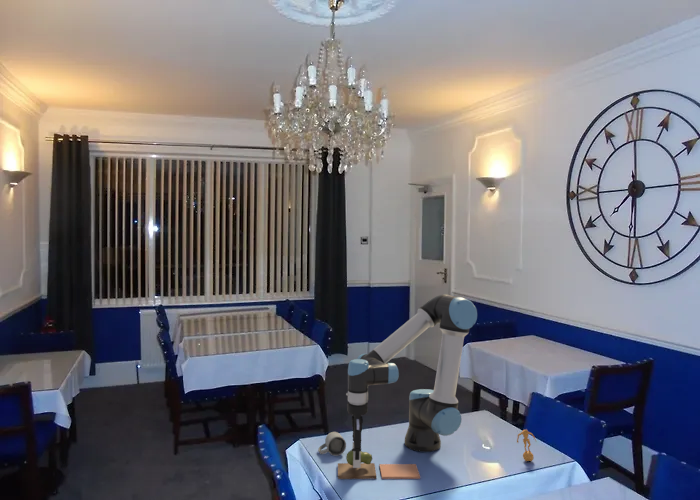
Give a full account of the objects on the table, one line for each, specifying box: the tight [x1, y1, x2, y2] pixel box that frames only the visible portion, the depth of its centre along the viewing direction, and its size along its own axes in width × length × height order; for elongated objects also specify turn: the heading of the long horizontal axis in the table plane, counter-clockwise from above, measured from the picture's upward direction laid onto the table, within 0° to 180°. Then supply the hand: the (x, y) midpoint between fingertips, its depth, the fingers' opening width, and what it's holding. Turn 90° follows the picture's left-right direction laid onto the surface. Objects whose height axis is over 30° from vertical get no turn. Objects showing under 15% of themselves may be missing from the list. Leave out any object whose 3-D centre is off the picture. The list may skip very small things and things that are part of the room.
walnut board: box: [337, 462, 377, 480], centre depth 194 cm, size 14×10×1 cm
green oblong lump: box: [345, 449, 373, 465], centre depth 194 cm, size 6×5×10 cm
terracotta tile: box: [379, 463, 421, 480], centre depth 194 cm, size 14×10×1 cm
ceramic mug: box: [317, 431, 347, 457], centre depth 211 cm, size 11×8×8 cm
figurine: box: [516, 429, 537, 462], centre depth 206 cm, size 8×6×12 cm
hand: (356, 463), depth 194 cm, fingers closed on green oblong lump, 6 cm apart
